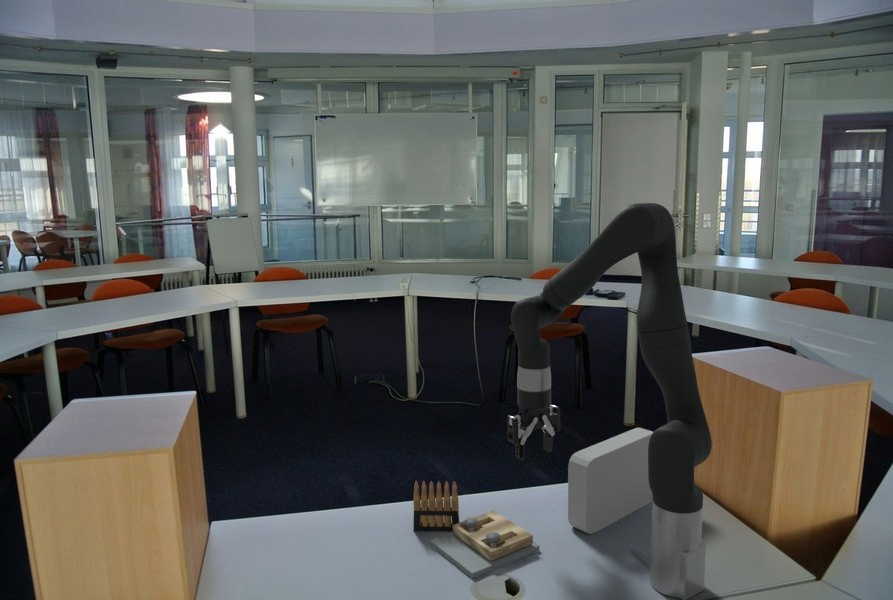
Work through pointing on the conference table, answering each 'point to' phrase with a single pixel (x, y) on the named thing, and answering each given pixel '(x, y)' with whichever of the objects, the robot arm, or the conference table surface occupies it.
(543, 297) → the robot arm
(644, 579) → the conference table surface
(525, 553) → the board
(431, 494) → the ammunition clip
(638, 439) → the rounded white slab
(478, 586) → the conference table surface
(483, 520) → the beech panel
